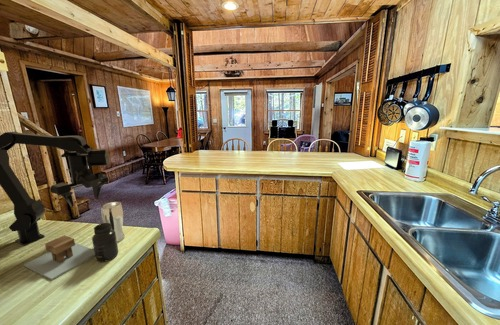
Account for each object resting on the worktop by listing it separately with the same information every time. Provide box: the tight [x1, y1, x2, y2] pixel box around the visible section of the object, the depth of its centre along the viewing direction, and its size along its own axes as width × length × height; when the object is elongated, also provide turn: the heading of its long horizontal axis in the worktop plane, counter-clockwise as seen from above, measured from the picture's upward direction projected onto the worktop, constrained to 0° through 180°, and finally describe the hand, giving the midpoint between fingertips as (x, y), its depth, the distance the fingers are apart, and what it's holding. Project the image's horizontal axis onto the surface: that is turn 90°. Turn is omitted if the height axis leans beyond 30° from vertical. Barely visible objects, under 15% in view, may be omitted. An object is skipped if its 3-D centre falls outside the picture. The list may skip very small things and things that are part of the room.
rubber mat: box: [23, 242, 95, 281], centre depth 72 cm, size 16×14×1 cm
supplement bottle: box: [91, 222, 119, 263], centre depth 73 cm, size 7×7×12 cm
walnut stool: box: [44, 235, 76, 263], centre depth 71 cm, size 6×6×6 cm
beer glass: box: [101, 201, 125, 243], centre depth 83 cm, size 7×7×15 cm
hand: (85, 202), depth 87 cm, fingers open, 9 cm apart
